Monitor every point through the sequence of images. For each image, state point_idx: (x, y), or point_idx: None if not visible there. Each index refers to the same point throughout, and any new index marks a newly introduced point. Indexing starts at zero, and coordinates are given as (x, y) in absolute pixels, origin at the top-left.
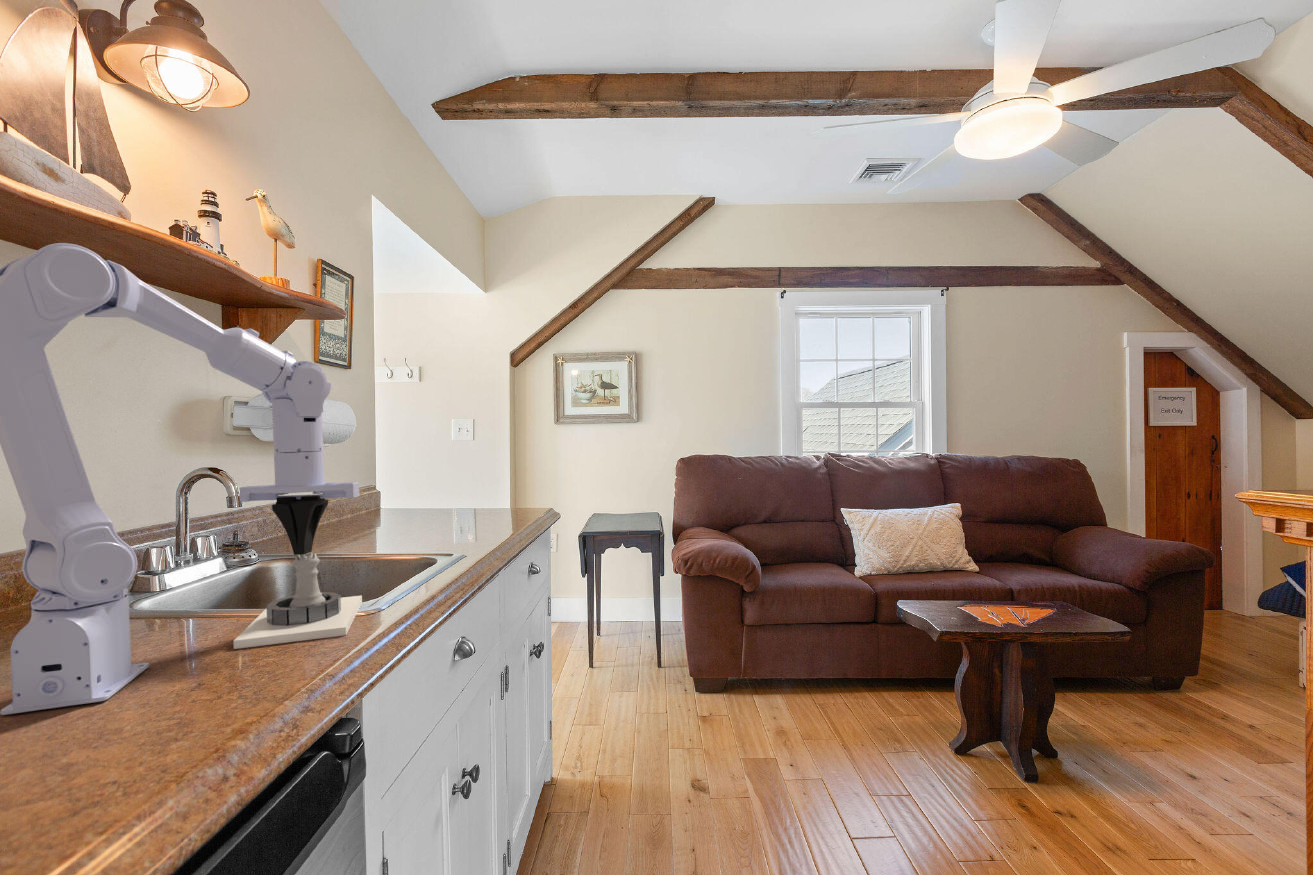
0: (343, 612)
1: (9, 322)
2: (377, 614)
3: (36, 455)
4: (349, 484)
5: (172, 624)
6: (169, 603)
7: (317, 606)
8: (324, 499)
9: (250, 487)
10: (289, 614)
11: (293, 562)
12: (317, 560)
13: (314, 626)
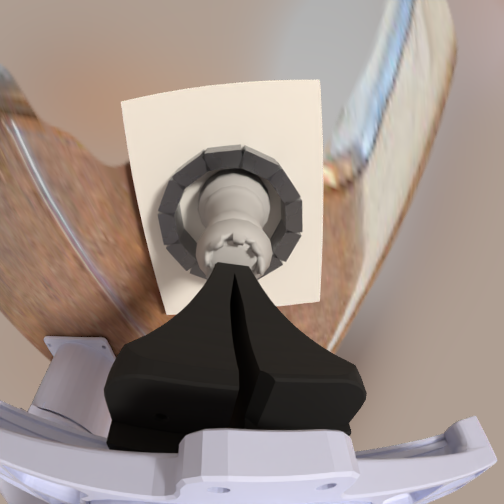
0: (304, 214)
1: None
2: (357, 193)
3: None
4: (447, 492)
5: (5, 151)
6: None
7: (270, 271)
8: (347, 432)
9: (7, 481)
10: None
11: (202, 269)
12: (268, 261)
13: (269, 284)
